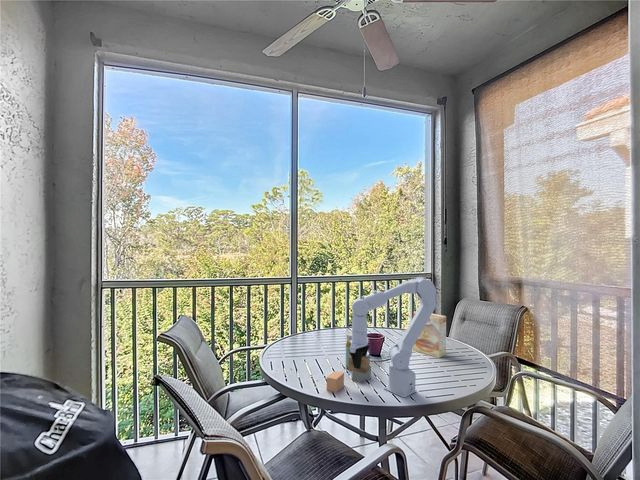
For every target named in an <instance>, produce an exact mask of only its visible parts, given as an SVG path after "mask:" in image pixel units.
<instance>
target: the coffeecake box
mask: <svg viewBox="0 0 640 480" xmlns="http://www.w3.org/2000/svg"><path fill="white" fill-rule="evenodd" d="M416 312H417V311H414V312H413V313H412V318H413V317H414V315H415V313H416ZM412 351H415V352H418V353H421V354H425V355H428V356H431V357H435V358H442V357H445V356H446V355H447V354H446V353H447V316H446V315H442V314H436V313H432V315H431V316H430V318H429V320H428V322H427V323H426V325H425V327H424V328H423V330H422V332H421V334H420V335H419V337H418V339H417V341H416V342H415V344H414V346H413V348H412Z"/></svg>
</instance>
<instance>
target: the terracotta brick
mask: <svg viewBox="0 0 640 480" xmlns="http://www.w3.org/2000/svg"><path fill="white" fill-rule="evenodd" d="M344 386H345V372H341V371H337V370H334V371H333V372H331V373H330V374H329V375H327V376H326V391H328V392H332V393H337V392H339V391H340V390H341V389H342V388H343V387H344Z"/></svg>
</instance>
